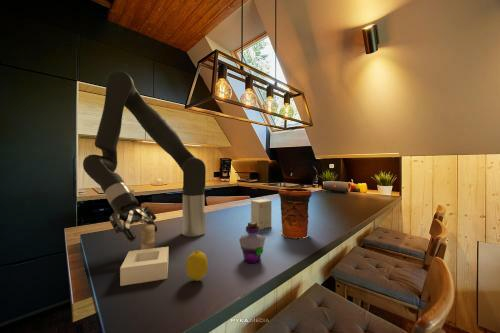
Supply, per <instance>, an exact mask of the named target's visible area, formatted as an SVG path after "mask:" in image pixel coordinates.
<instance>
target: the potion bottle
mask: <svg viewBox="0 0 500 333" xmlns="http://www.w3.org/2000/svg"><path fill="white" fill-rule="evenodd" d="M259 231H260V230H259V226H257V223H256V222H251V221H250V222H248V223H247V225H246V226H245V232H246V233H247V234H245V235H242V236H241V235H240V238H239V240H238V241H239V245H240V250H241V252H242V255H243V256H242V257H243V261H244V262H245V263H247V264H253V265H255V264H258V263H260V262H261V260H262V259H261V258H262V257H261V256H262V254H263V253H264V246H265V240H266V237H265V236H263V235H261V234H258V233H259Z"/></svg>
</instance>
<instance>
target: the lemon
mask: <svg viewBox="0 0 500 333" xmlns="http://www.w3.org/2000/svg"><path fill="white" fill-rule="evenodd" d="M208 263H209V262H208V258H207V256H206V254H205V253H204V252H202V251H199V249H198V250H195V251H193V252H192V253H190V255H189V256H188V257H187V261H186V263H185V264H186V274H187V276H188V277H189V278H190V279H192V280H194V281H196V282H198V281H200V280H201V279H202V278H204V277H205V276H206V274H207V271H208V268H209V267H208V266H209V264H208Z"/></svg>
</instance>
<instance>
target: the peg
mask: <svg viewBox="0 0 500 333" xmlns="http://www.w3.org/2000/svg"><path fill="white" fill-rule="evenodd" d="M155 225H156V224H155ZM155 225H147V224H144V225H141V227H140V229H141V230H140V231H141V232H140V239H141V240H140V244H141V245H140V246H141V247H140V250H143V249H152V248H156V244H155V242H156V241H155V240H156V233H155Z"/></svg>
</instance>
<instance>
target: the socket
mask: <svg viewBox="0 0 500 333" xmlns="http://www.w3.org/2000/svg"><path fill="white" fill-rule="evenodd" d="M169 251H170V250H169V246H163V247H155V248H152V249H143V250H141V249H135V250H129V251H128V253H127V254H126V257H125V258H124V261H123V262H122V264H121V266H120V267H119V274H120V275H119V278H120V280H119V281H120V283H119V285H120V287H122V286H123V287H124V286H128V285H135V284H142V283H148V282H154V281H160V280H161V281H162V280H166V279H168V274H169V272H168V271H169V258H170V257H169Z"/></svg>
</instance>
